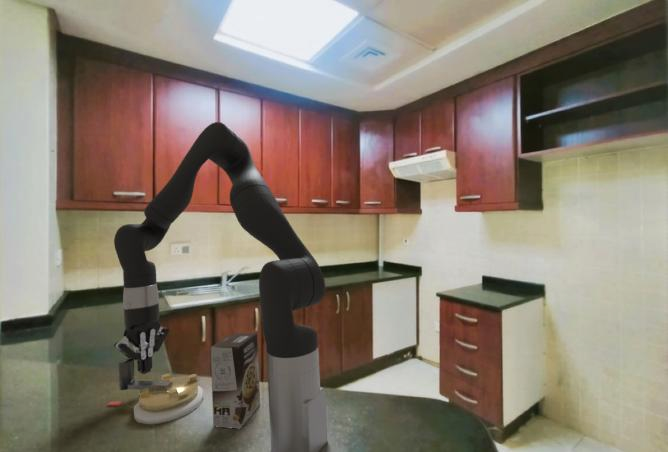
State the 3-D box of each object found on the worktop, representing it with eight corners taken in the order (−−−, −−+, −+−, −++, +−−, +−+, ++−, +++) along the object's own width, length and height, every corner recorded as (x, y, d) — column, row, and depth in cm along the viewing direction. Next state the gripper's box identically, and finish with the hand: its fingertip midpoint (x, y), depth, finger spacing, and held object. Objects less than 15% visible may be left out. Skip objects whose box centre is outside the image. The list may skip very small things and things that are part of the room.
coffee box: (241, 430, 61) (238, 347, 61) (212, 427, 62) (208, 346, 62) (261, 404, 70) (258, 332, 70) (235, 402, 71) (232, 332, 71)
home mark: (123, 403, 73) (122, 401, 73) (118, 406, 72) (118, 404, 72) (111, 403, 74) (111, 401, 74) (107, 406, 73) (107, 404, 73)
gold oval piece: (208, 384, 76) (207, 351, 77) (176, 412, 64) (175, 373, 65) (141, 383, 79) (140, 351, 79) (98, 409, 67) (97, 372, 67)
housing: (216, 396, 74) (215, 389, 74) (160, 430, 62) (160, 423, 62) (177, 386, 81) (177, 380, 81) (120, 415, 68) (120, 408, 68)
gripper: (157, 296, 85) (160, 359, 85) (104, 309, 74) (107, 382, 73) (175, 298, 82) (178, 363, 82) (122, 311, 70) (126, 388, 70)
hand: (145, 372), depth 78 cm, fingers closed
